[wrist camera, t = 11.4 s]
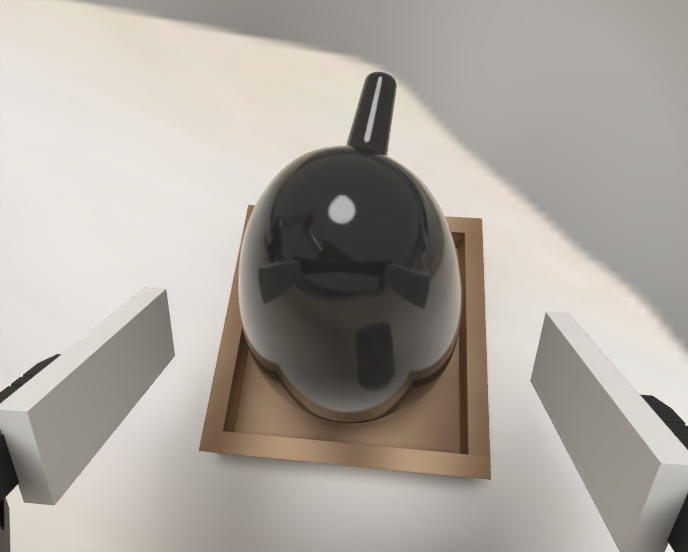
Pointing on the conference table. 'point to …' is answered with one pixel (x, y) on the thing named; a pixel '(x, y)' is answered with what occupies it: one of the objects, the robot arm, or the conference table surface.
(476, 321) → the tray
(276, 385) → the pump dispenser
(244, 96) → the conference table surface
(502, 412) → the conference table surface
